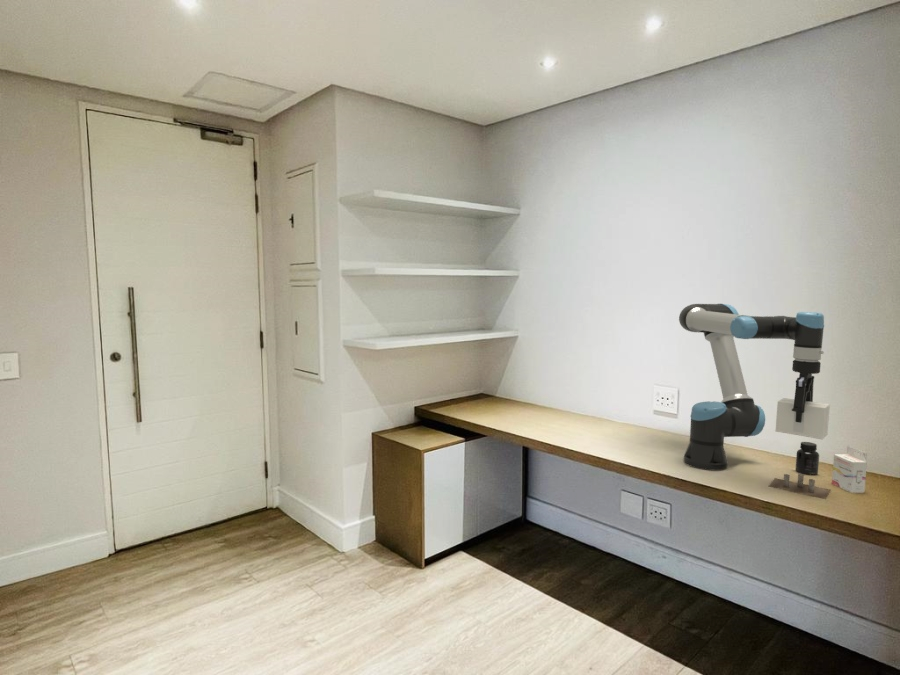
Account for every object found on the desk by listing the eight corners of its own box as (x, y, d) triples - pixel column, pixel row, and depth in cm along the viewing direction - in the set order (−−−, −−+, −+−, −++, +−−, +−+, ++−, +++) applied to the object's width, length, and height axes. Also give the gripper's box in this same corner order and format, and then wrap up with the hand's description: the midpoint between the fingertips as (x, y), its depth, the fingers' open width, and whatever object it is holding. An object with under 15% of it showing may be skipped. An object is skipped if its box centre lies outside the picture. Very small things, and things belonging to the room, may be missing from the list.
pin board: (767, 490, 182) (768, 474, 182) (774, 482, 190) (775, 466, 190) (825, 503, 172) (826, 486, 171) (830, 494, 180) (831, 477, 179)
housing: (775, 431, 181) (777, 401, 180) (781, 427, 187) (783, 398, 186) (822, 439, 172) (824, 408, 171) (827, 434, 178) (829, 404, 177)
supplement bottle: (790, 472, 200) (793, 440, 199) (810, 473, 200) (812, 440, 199) (802, 479, 194) (804, 446, 192) (822, 479, 193) (824, 446, 192)
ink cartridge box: (830, 487, 186) (833, 445, 184) (844, 487, 186) (847, 444, 185) (850, 497, 177) (854, 452, 176) (865, 497, 178) (868, 452, 176)
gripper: (813, 364, 167) (807, 437, 169) (827, 358, 182) (821, 425, 184) (785, 361, 172) (779, 433, 174) (800, 356, 187) (795, 421, 189)
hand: (801, 429), depth 179 cm, fingers closed on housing, 8 cm apart
